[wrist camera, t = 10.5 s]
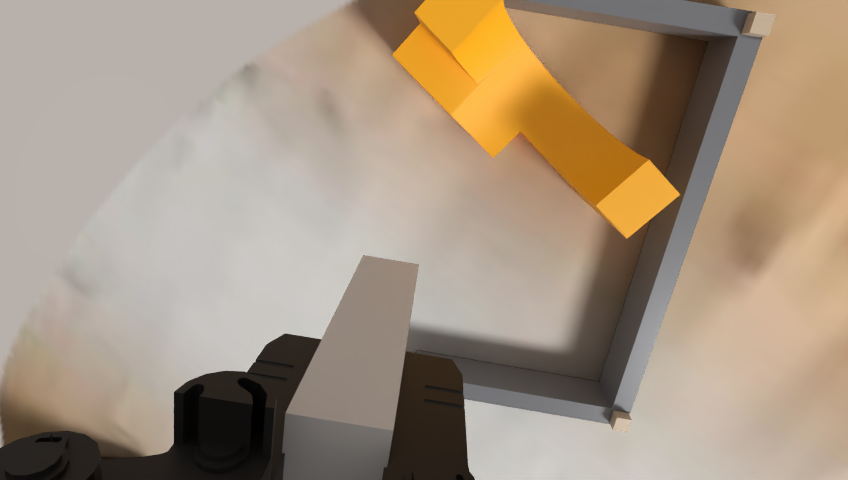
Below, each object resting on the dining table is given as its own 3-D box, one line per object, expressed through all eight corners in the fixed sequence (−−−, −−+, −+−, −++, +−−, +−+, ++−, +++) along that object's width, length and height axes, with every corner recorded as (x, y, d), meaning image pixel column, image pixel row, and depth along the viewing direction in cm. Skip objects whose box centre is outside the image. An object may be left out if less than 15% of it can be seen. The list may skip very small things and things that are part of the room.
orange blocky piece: (399, 58, 24) (381, 49, 18) (462, -12, 23) (466, -47, 17) (559, 223, 26) (592, 267, 20) (624, 167, 25) (680, 194, 19)
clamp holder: (414, 364, 29) (409, 396, 26) (482, -21, 22) (486, -37, 20) (611, 398, 29) (628, 434, 26) (737, 21, 22) (779, 12, 19)
